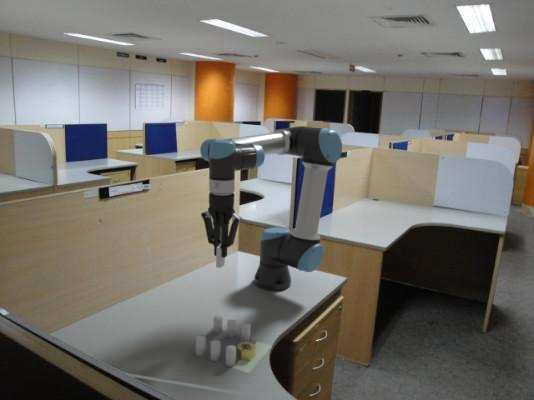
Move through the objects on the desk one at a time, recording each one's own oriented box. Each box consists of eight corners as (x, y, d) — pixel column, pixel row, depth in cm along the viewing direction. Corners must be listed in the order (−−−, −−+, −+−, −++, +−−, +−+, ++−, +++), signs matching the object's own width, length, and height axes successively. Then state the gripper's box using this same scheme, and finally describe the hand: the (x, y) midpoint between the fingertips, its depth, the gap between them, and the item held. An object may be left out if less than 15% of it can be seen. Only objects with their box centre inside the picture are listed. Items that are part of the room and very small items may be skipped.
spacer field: (213, 329, 145) (213, 313, 144) (272, 347, 137) (273, 330, 135) (184, 353, 131) (184, 336, 129) (248, 375, 122) (249, 357, 121)
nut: (242, 348, 134) (243, 339, 133) (257, 353, 132) (257, 344, 131) (233, 358, 129) (234, 348, 128) (248, 363, 127) (249, 353, 126)
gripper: (196, 192, 131) (195, 266, 137) (235, 198, 127) (233, 274, 133) (208, 187, 138) (208, 258, 144) (246, 192, 133) (244, 265, 139)
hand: (220, 266), depth 138 cm, fingers closed
